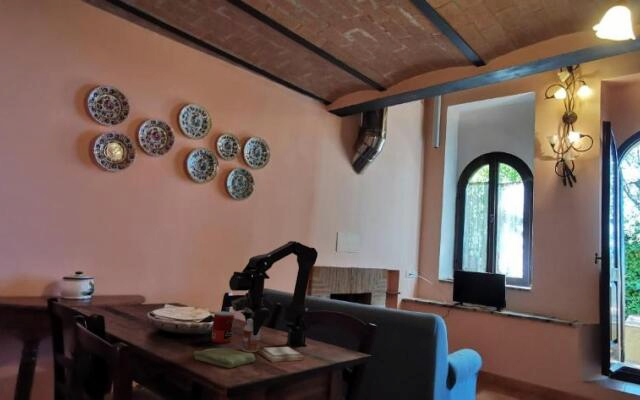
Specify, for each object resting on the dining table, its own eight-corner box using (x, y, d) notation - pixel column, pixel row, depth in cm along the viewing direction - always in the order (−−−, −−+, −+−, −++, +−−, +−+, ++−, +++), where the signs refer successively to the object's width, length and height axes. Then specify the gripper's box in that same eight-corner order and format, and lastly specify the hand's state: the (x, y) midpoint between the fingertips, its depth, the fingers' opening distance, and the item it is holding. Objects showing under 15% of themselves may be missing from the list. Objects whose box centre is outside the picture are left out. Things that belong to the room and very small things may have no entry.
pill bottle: (239, 348, 155) (242, 318, 157) (254, 348, 158) (257, 318, 160) (244, 353, 150) (247, 321, 151) (260, 352, 153) (263, 321, 154)
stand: (289, 351, 157) (289, 346, 158) (303, 359, 147) (304, 354, 147) (259, 353, 152) (259, 347, 152) (271, 361, 141) (272, 355, 142)
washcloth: (219, 353, 149) (220, 343, 149) (257, 363, 139) (258, 353, 140) (189, 359, 138) (191, 349, 138) (229, 371, 128) (230, 360, 129)
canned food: (227, 344, 161) (230, 315, 162) (207, 342, 162) (211, 313, 164) (234, 340, 168) (237, 312, 170) (216, 338, 170) (219, 310, 171)
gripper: (227, 287, 161) (223, 329, 159) (243, 293, 145) (238, 339, 143) (254, 288, 167) (250, 328, 165) (273, 294, 150) (269, 338, 148)
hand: (251, 333), depth 155 cm, fingers closed on pill bottle, 6 cm apart
